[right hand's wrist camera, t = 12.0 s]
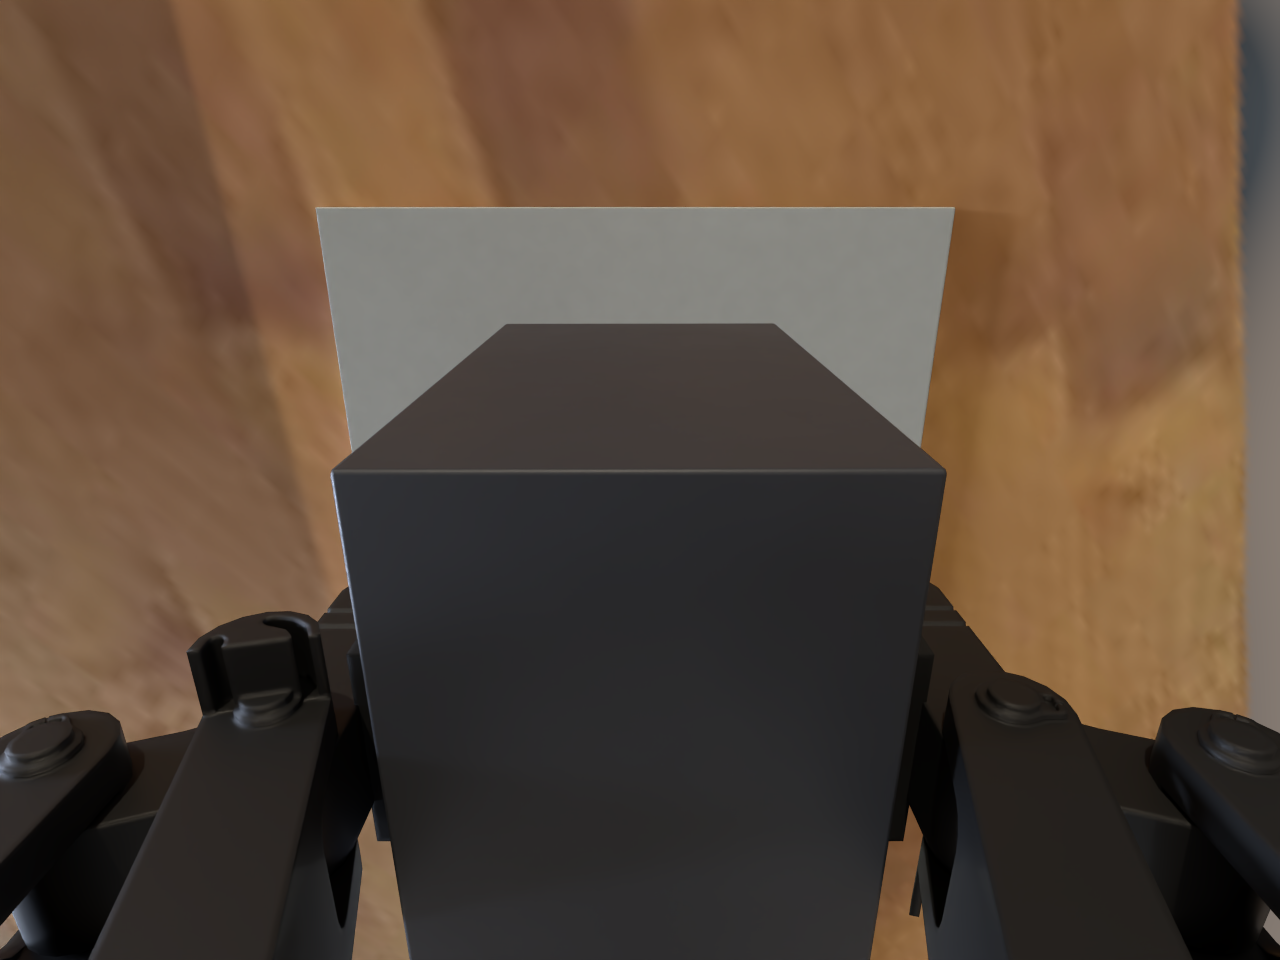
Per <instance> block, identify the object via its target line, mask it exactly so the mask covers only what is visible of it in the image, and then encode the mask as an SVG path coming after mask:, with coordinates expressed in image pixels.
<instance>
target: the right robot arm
mask: <svg viewBox="0 0 1280 960" xmlns="http://www.w3.org/2000/svg"><path fill="white" fill-rule="evenodd" d="M187 656H188V659H189V663H190V667H191V671H192V675H193V679H194V683H195V686H196V690H197V694H198V698H199V702H200V706H201V710H202V713H203V717H202V719H201V721H200V723H199V725H198V727H197V728H194V729H191V730H187V731H183V732H178V733H173V734H168V735H163V736H159V737H154V738H149V739H144V740H139V741H134V742H129V743H126V740H125V737H124V734H123V731H122V727H121V724H120V721H119V720H117V719H116V718H115V717H113V716H112V715H111V714H109V713H105V712H98V711H91V710H87V711H79V712H70V713H62V714H57V715H53V716H49V718H46V717H45V718H42V719H39V720H36V721H33V722H31V723H29V724H27V725H26V726H24V727H22V728H20V729H17V730H15V731H13V732H11V733H9V734H7V735H4V736H3V737H1V738H0V926H1V924H2V923H3V922H4V921H5V920H6V919H7V918H8V916H9V915H10V914H11V913H12V914H13V917H14V919H15V921H16V924H17V926H18V928H19V930H18V931H17V932H16V933H15V935H14V936H13V937H12V938H11V939H10V941H9V942H8V943H7V944H6V945H5V946H4V947H3V948H1V949H0V960H352V952H353V944H354V935H355V927H356V919H357V910H358V902H359V893H360V885H361V876H362V862H361V855H360V849H359V844H358V836H359V834H360V832H361V830H362V827H363V825H364V823H365V821H366V819H367V816H368V814H369V812H370V810H371V807H372V812H373V818H374V824H375V830H376V836H377V841H390V835H389V829H388V823H387V817H386V811H385V805H384V798H383V792H382V786H381V780H380V774H379V768H378V762H377V756H376V750H375V743H374V737H373V731H372V725H371V719H370V713H369V707H368V701H367V695H366V689H365V682H364V676H363V670H362V664H361V658H360V652H359V646H358V640H357V634H356V627H355V621H354V615H353V609H352V603H351V597H350V591H349V587H347V588H346V589H344V590H342V592H341V593H340V594H339V595H338V597H337V598H336V599H335V601H334V602H333V603H332V604H331V606H330V607H329V608H328V613H324V615H323V616H322V617H321V618H320V620H319V621H318V622H317V621H315V620H314V619H313V618H311V617H310V616H309V615H305V614H301V613H296V612H291V611H284V612H265V613H260V614H255V615H251V616H246V617H242V618H239V619H236V620H234V621H231V622H229V623H226V624H223V625H221V626H218V627H217V628H215V629H213V630H212V631H210V632H208V633H207V634H205V635H203V636H202V637H200V638H199V639H198V640H197V641H196V642H195V643H194V644H193V645H192V646H191V647H190V648H189V649H188V650H187ZM909 805H910V807H911V809H912V811H913V814H914V816H915V818H916V820H917V822H918V825H919V827H920V829H921V831H922V833H923V838H922V844H921V849H920V855H919V860H918V866H917V872H916V877H915V883H914V888H913V894H912V899H911V906H910V913H909V915H912V916H916V917H919V914H920V909H921V904H922V908H923V917H924V925H925V934H926V942H927V951H928V959H929V960H1280V945H1279V944H1278V943H1277V942H1276V941H1275V940H1274V939H1273V938H1272V937H1271V935H1270V934H1269V933H1268V932H1267V931H1266V930H1265V928H1264V927H1263V925H1264V923H1265V921H1266V918H1267V916H1268V914H1269V911H1270V909H1271V910H1272V911H1273V913H1274V914H1275V915H1276V916H1277V917H1278V918H1279V919H1280V733H1278V732H1276V731H1274V730H1271V729H1269V728H1267V727H1265V726H1263V725H1261V724H1259V723H1257V722H1255V721H1254V720H1252V719H1249V718H1247V717H1244V716H1241V715H1238V714H1236V715H1234V714H1233V713H1230V712H1226V711H1221V710H1213V709H1205V708H1196V707H1190V708H1182V709H1175V710H1172V711H1171V712H1169V713H1168V714H1167V715H1165V716H1164V717H1163V718H1162V720H1161V723H1160V726H1159V730H1158V733H1157V736H1156V739H1155V740H1153V739H1148V738H1143V737H1138V736H1133V735H1128V734H1123V733H1118V732H1113V731H1108V730H1103V729H1098V728H1095V727H1091V726H1087V725H1083V724H1081V722H1080V720H1079V717H1078V715H1077V714H1076V713H1075V711H1074V710H1073V709H1072V707H1071V706H1070V705H1069V704H1068V702H1067V701H1066V700H1065V699H1064V698H1062V697H1061V696H1059V695H1058V694H1057V693H1055V692H1054V691H1052V690H1051V689H1050V688H1048V687H1047V686H1044V685H1042V684H1040V683H1038V682H1035V681H1033V680H1031V679H1028V678H1026V677H1024V676H1020V675H1015V674H1011V673H1007V672H1005V671H1004V670H1003V669H1002V668H1001V666H1000V665H999V664H998V663H997V661H996V660H995V659H994V657H993V656H992V655H991V654H990V652H989V651H988V650H987V649H986V647H985V646H984V645H983V644H982V642H981V641H980V640H979V639H978V637H977V636H976V635H975V633H974V632H973V631H972V630H971V628H970V627H969V626H966V622H965V621H964V620H963V618H962V617H961V616H960V615H959V613H958V612H957V611H956V610H953V606H952V604H951V603H950V602H949V601H948V599H947V598H946V597H945V596H944V594H943V593H942V592H941V590H940V589H939V588H938V587H936V586H934V585H933V584H931V583H930V582H929V589H928V595H927V601H926V608H925V614H924V620H923V627H922V633H921V639H920V646H919V652H918V658H917V665H916V671H915V677H914V684H913V690H912V696H911V703H910V709H909V715H908V722H907V728H906V734H905V741H904V747H903V753H902V760H901V766H900V772H899V779H898V785H897V791H896V798H895V804H894V810H893V817H892V823H891V829H890V836H889V841H903V839H904V833H905V827H906V821H907V815H908V809H909Z"/></svg>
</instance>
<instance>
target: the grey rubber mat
mask: <svg viewBox="0 0 1280 960" xmlns="http://www.w3.org/2000/svg"><path fill="white" fill-rule="evenodd" d="M316 213H317V220H318V227H319V233H320V240H321V247H322V254H323V260H324V267H325V274H326V281H327V287H328V294H329V301H330V307H331V314H332V321H333V328H334V334H335V341H336V348H337V354H338V361H339V368H340V375H341V381H342V388H343V395H344V402H345V408H346V415H347V422H348V428H349V435H350V442H351V449H352V452H354V451H355V450H356V449H357V448H358V447H360V446H361V445H362V444H363V443H364V442H366V441H367V440H368V439H369V438H370V437H372V436H373V435H374V434H375V433H376V432H378V431H379V430H380V429H381V428H382V427H384V426H385V425H386V424H387V423H388V422H390V421H391V420H392V419H393V418H394V417H395V416H397V415H398V414H399V413H400V412H401V411H403V410H404V409H405V408H406V407H407V406H409V405H410V404H411V403H412V402H413V401H415V400H416V399H417V398H418V397H419V396H421V395H422V394H423V393H424V392H425V391H427V390H428V389H429V388H430V387H431V386H433V385H434V384H435V383H436V382H437V381H439V380H440V379H441V378H442V377H443V376H444V375H446V374H447V373H448V372H449V371H450V370H452V369H453V368H454V367H455V366H456V365H458V364H459V363H460V362H461V361H462V360H464V359H465V358H466V357H467V356H468V355H470V354H471V353H472V352H473V351H474V350H476V349H477V348H478V347H479V346H480V345H482V344H483V343H484V342H485V341H486V340H487V339H489V338H490V337H491V336H492V335H493V334H495V333H496V332H497V331H498V330H499V329H501V328H502V327H503V326H504V325H506V324H698V323H774V324H776V325H777V326H778V327H779V328H780V329H782V330H783V331H784V332H785V333H786V334H787V335H789V336H790V337H791V338H792V339H793V340H794V341H796V342H797V343H798V344H799V345H800V346H801V347H803V348H804V349H805V350H806V351H807V352H809V353H810V354H811V355H812V356H813V357H814V358H816V359H817V360H818V361H819V362H820V363H821V364H823V365H824V366H825V367H826V368H827V369H828V370H830V371H831V372H832V373H833V374H834V375H835V376H837V377H838V378H839V379H840V380H841V381H843V382H844V383H845V384H846V385H847V386H848V387H850V388H851V389H852V390H853V391H854V392H855V393H857V394H858V395H859V396H860V397H861V398H862V399H864V400H865V401H866V402H867V403H868V404H869V405H871V406H872V407H873V408H874V409H875V410H877V411H878V412H879V413H880V414H881V415H882V416H884V417H885V418H886V419H887V420H888V421H889V422H891V423H892V424H893V425H894V426H895V427H896V428H898V429H899V430H900V431H901V432H902V433H904V434H905V435H906V436H907V437H908V438H909V439H911V440H912V441H913V442H914V443H915V444H916V445H918V446H919V447H920V448H921V442H922V435H923V428H924V421H925V414H926V407H927V401H928V394H929V387H930V380H931V373H932V366H933V359H934V352H935V345H936V338H937V331H938V324H939V318H940V311H941V304H942V297H943V290H944V283H945V276H946V269H947V262H948V255H949V248H950V241H951V235H952V228H953V221H954V214H955V208H954V207H317V208H316Z"/></svg>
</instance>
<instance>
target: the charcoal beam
mask: <svg viewBox="0 0 1280 960" xmlns="http://www.w3.org/2000/svg"><path fill="white" fill-rule="evenodd" d="M946 474H947V473H946V470H945V468H943V467H942V466H941V465H940V464H939V463H938V462H936V461H935V460H934V459H933V458H932V457H930V456H929V455H928V454H927V453H926V452H925V451H923V450H922V449H921V448H920V447H919V446H918V445H916V444H915V443H914V442H913V441H912V440H911V439H909V438H908V437H907V436H906V435H905V434H904V433H902V432H901V431H900V430H899V429H898V428H896V427H895V426H894V425H893V424H892V423H891V422H889V421H888V420H887V419H886V418H885V417H884V416H882V415H881V414H880V413H879V412H878V411H877V410H875V409H874V408H873V407H872V406H871V405H869V404H868V403H867V402H866V401H865V400H864V399H862V398H861V397H860V396H859V395H858V394H857V393H855V392H854V391H853V390H852V389H851V388H850V387H848V386H847V385H846V384H845V383H844V382H843V381H841V380H840V379H839V378H838V377H837V376H835V375H834V374H833V373H832V372H831V371H830V370H828V369H827V368H826V367H825V366H824V365H823V364H821V363H820V362H819V361H818V360H817V359H816V358H814V357H813V356H812V355H811V354H810V353H809V352H807V351H806V350H805V349H804V348H803V347H801V346H800V345H799V344H798V343H797V342H796V341H794V340H793V339H792V338H791V337H790V336H789V335H787V334H786V333H785V332H784V331H783V330H782V329H780V328H779V327H778V326H777V325H776V324H774V323H698V324H506V325H504V326H503V327H502V328H501V329H499V330H498V331H497V332H496V333H495V334H493V335H492V336H491V337H490V338H489V339H487V340H486V341H485V342H484V343H483V344H482V345H480V346H479V347H478V348H477V349H476V350H474V351H473V352H472V353H471V354H470V355H468V356H467V357H466V358H465V359H464V360H462V361H461V362H460V363H459V364H458V365H456V366H455V367H454V368H453V369H452V370H450V371H449V372H448V373H447V374H446V375H444V376H443V377H442V378H441V379H440V380H439V381H437V382H436V383H435V384H434V385H433V386H431V387H430V388H429V389H428V390H427V391H425V392H424V393H423V394H422V395H421V396H419V397H418V398H417V399H416V400H415V401H413V402H412V403H411V404H410V405H409V406H407V407H406V408H405V409H404V410H403V411H401V412H400V413H399V414H398V415H397V416H395V417H394V418H393V419H392V420H391V421H390V422H388V423H387V424H386V425H385V426H384V427H382V428H381V429H380V430H379V431H378V432H376V433H375V434H374V435H373V436H372V437H370V438H369V439H368V440H367V441H366V442H364V443H363V444H362V445H361V446H360V447H358V448H357V449H356V450H355V451H354V452H352V453H351V454H350V455H349V456H348V457H347V458H345V459H344V460H343V461H342V462H341V463H339V464H338V465H337V466H336V467H335V468H333V469H332V471H331V481H332V487H333V493H334V499H335V505H336V511H337V517H338V524H339V530H340V536H341V542H342V548H343V554H344V560H345V566H346V572H347V579H348V585H349V591H350V597H351V603H352V609H353V615H354V621H355V627H356V634H357V640H358V646H359V652H360V658H361V664H362V670H363V676H364V682H365V689H366V695H367V701H368V707H369V713H370V719H371V725H372V731H373V737H374V743H375V750H376V756H377V762H378V768H379V774H380V780H381V786H382V792H383V798H384V805H385V811H386V817H387V823H388V829H389V835H390V841H391V847H392V853H393V860H394V866H395V872H396V878H397V884H398V890H399V896H400V902H401V908H402V915H403V921H404V927H405V933H406V939H407V945H408V951H409V957H410V960H870V956H871V950H872V943H873V937H874V931H875V924H876V918H877V912H878V905H879V899H880V893H881V886H882V880H883V874H884V867H885V861H886V855H887V848H888V842H889V836H890V829H891V823H892V817H893V810H894V804H895V798H896V791H897V785H898V779H899V772H900V766H901V760H902V753H903V747H904V741H905V734H906V728H907V722H908V715H909V709H910V703H911V696H912V690H913V684H914V677H915V671H916V665H917V658H918V652H919V646H920V639H921V633H922V627H923V620H924V614H925V608H926V601H927V595H928V589H929V582H930V576H931V570H932V563H933V557H934V551H935V544H936V538H937V532H938V525H939V519H940V513H941V506H942V500H943V494H944V487H945V481H946Z"/></svg>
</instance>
